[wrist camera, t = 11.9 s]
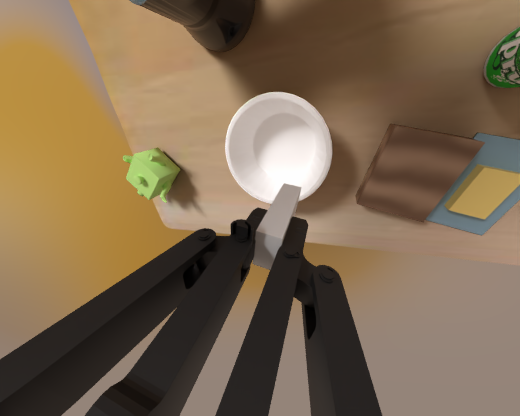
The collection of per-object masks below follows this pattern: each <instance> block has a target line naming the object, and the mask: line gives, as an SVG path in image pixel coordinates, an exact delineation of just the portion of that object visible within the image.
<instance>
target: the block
mask: <svg viewBox="0 0 520 416" xmlns="http://www.w3.org/2000/svg"><path fill="white" fill-rule="evenodd" d="M519 185H520V173H518V172H513V171H509V170H504V169H499V168H494V167H489V166H484V165H479V164H477V165H476V167H475V168H474V169H473V170H472V172H471V173H470V174H469V175H468V176H467V178H466V179H465V180H464V181H463V183H462V184H461V185H460V186H459V188H458V189H457V190H456V191H455V193H454V194H453V195H452V196H451V197H450V199H449V200H448V201H447V202H446V204H445V205H444V206H445V207H446V208H447V209H448V210H450V211H454V212H457V213H461V214H465V215H469V216H473V217H477V218H481V219H484V220H485V219H486V218H487V217H488V216H489V215H490V214H491V213H492V212H493V211H494V210H495V209H496V208H497V207H498V206H499V205H500V204H501V203H502V202H503V201H504V200H505V199H506V198H507V197H508V196H509V195H510V194H511V193H512V192H513V191H514V190H515V189H516V188H517V187H518V186H519Z"/></svg>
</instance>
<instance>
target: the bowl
mask: <svg viewBox="0 0 520 416" xmlns="http://www.w3.org/2000/svg"><path fill="white" fill-rule="evenodd" d="M225 151H226V159H227V162H228V166H229V168H230V171H231V173H232V175H233V177H234V178H235V180H236V181H237V183H238V184H239V185H240V186H241V187H242V188H243V189H244V190H245V191H246V192H247V193H248V194H250V195H251V196H252V197H254V198H256V199H258V200H260V201H263V202H266V203H269V204H272V202H273V201H274V199H275V197H276V196H277V194H278V192H279V190H280V189H281V187H282V185H283V184H284V183H285V184H290V185H294V186H298V187H302V188H301V192H300V196H299V200H298V201H301V200H303V199H305V198H307V197H308V196H310V195H311V194H313V193H314V192H315V191H316V190H317V189H318V188H319V187H320V186H321V184H322V182H323V181H324V179H325V178H326V176H327V174H328V171H329V168H330V166H331V160H332V140H331V136H330V132H329V129H328V127H327V125H326V123H325V121H324V119H323V117H322V116H321V115H320V113H319V112H318V111H317V110H316V108H315V107H313V106H312V105H311V104H310V103H308V102H307V101H306V100H305V99H302V98H300V97H298V96H296V95H294V94H289V93H284V92H268V93H265V94H261V95H258V96H256V97H254V98H252V99H251V100H249V101H247V102H246V103H245V104H244V105H243V106H242V107H241V108H239V110H238V111H237V112H236V114H235V115H234V117H233V118H232V120H231V123H230V125H229V127H228V131H227V135H226V144H225Z"/></svg>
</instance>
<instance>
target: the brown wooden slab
mask: <svg viewBox="0 0 520 416" xmlns="http://www.w3.org/2000/svg"><path fill="white" fill-rule="evenodd" d="M484 144H485V142H482V141H479V140H475V139H472V138H467V137H461V136H456V135H450V134H445V133H439V132H434V131H428V130H423V129H417V128H412V127H406V126H401V125H395V124H390V126H389V128H388V130H387V132H386V134H385V136H384V138H383V140H382V142H381V144H380V146H379V149H378V151H377V153H376V155H375V157H374V159H373V161H372V163H371V165H370V167H369V169H368V171H367V173H366V176H365V178H364V180H363V182H362V184H361V186H360V188H359V190H358V192H357V194H356V201H357V204H360V205H363V206H367V207H371V208H374V209H378V210H381V211H385V212H389V213H392V214H396V215H399V216H403V217H407V218H410V219H414V220H417V221H421V222H424V221H425V219H426V218H427V217H428V215H429V214H430V213H431V212H432V210H433V209H434V208H435V206H436V205H437V204H438V203H439V201H440V200H441V199H442V197H443V196H444V195H445V194H446V192H447V191H448V190H449V189H450V187H451V186H452V185H453V183H454V182H455V181H456V180H457V178H458V177H459V176H460V174H461V173H462V172H463V171H464V169H465V168H466V167H467V165H468V164H469V163H470V162H471V160H472V159H473V158H474V157H475V155H476V154H477V153H478V151H479V150H480V149H481V148H482V146H483V145H484Z"/></svg>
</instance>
